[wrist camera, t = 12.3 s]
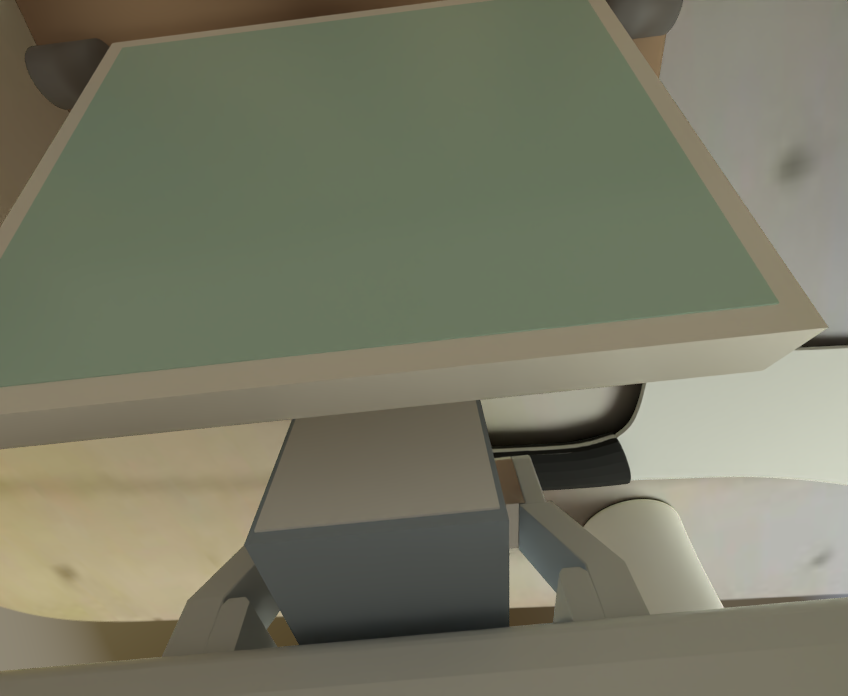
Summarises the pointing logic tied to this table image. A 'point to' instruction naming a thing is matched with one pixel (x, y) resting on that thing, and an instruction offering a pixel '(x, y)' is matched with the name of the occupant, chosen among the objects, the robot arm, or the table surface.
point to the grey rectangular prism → (385, 525)
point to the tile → (375, 227)
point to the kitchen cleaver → (718, 429)
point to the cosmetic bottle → (656, 555)
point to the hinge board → (219, 9)
